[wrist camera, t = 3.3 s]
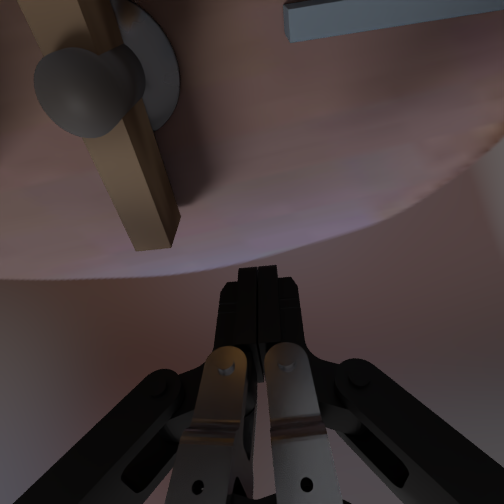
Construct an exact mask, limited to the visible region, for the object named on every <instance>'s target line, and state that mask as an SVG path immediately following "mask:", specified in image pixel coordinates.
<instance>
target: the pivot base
mask: <svg viewBox="0 0 504 504" xmlns="http://www.w3.org/2000/svg"><path fill="white" fill-rule="evenodd" d="M110 3H111V6H112V9H113V12H114V15H115V18H116V21H117V24H118V27H119V30H120V33H121V36H122V39H123V42H124V44H125V45H127V46H128V47H129V48H130V49H131V50H132V51H133V52H134V53H135V55H136V56H137V57H138V59H139V61H140V62H141V65H142V67H143V70H144V73H145V79H146V86H145V91H144V94H143V97H142V100H143V103H144V106H145V109H146V112H147V115H148V118H149V121H150V124H151V127H152V130H153V132H154V131H156V130H158V129H159V128H160V127H161V126H163V125H164V124H165V123H166V122H167V120H168V119H169V118H170V116H171V115H172V113H173V111H174V109H175V107H176V105H177V102H178V99H179V93H180V70H179V65H178V61H177V58H176V54H175V52H174V49H173V47H172V45H171V43H170V41H169V39H168V37H167V35H166V34H165V32H164V31H163V29H162V28H161V27H160V25H159V24H158V23H157V22H156V21H155V20H154V18H153V17H152V16H151V15H150V14H148V13H147V12H146V11H145V10H144V9H143V8H141V7H140V6H139V5H137V4H136V3H134V2H132V1H130V0H110Z"/></svg>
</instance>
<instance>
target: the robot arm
mask: <svg viewBox="0 0 504 504" xmlns="http://www.w3.org/2000/svg"><path fill="white" fill-rule="evenodd" d="M264 375H265V380H266V385H267V395H268V404H269V415H270V426H271V428H270V434H271V445H272V457H273V467H274V477H275V487H276V493H275V494H273V495H270V496H267V497H264V498H261V499H258V500H254V499H253V488H254V486H253V485H254V481H253V480H254V477H253V454H254V453H253V452H254V441H255V427H256V414H257V383H260V382H264ZM326 427H327V428H330V429H333V430H335V431H336V432H337V434H338V435H339V436H340V437H341V438H342V439H343V440H344V441H345V442H346V443H347V445H349V447H350V448H351V449H352V450H353V451H354V452H355V453H356V454H357V455H358V456H359V457H360V458H361V459H362V460H363V461H364V462H365V463H366V464H367V466H368V467H369V468H370V469H371V470H372V471H373V472H374V473H375V474H376V475H377V476H378V477H379V478H380V479H381V480H382V481H383V482H384V483H385V484H386V486H388V488H389V489H390V490H391V491H392V492H393V493H394V494H395V495H396V496H397V497H398V498H399V499H400V500H401V501H402V502H403V503H404V504H504V468H503V467H502V466H501V465H500V464H498V463H497V462H496V461H494V460H493V459H492V458H490V457H489V456H488V455H487V454H486V453H484V452H483V451H482V450H480V449H479V448H478V447H477V446H475V445H474V444H473V443H472V442H470V441H469V440H468V439H466V438H465V437H464V436H463V435H462V434H460V433H459V432H458V431H457V430H455V429H454V428H453V427H451V426H450V425H449V424H448V423H446V422H445V421H444V420H443V419H441V418H440V417H439V416H438V415H436V414H435V413H434V412H432V411H431V410H430V409H429V408H427V407H426V406H425V405H423V404H422V403H421V402H420V401H418V400H417V399H416V398H415V397H414V396H412V395H411V394H410V393H408V392H407V391H406V390H404V389H403V388H402V387H401V386H399V385H398V384H397V383H396V382H395V381H393V380H392V379H391V378H390V377H388V376H387V375H386V374H384V373H383V372H382V371H381V370H379V369H378V368H377V367H375V366H374V365H373V364H371V363H370V362H368V361H366V360H363V359H356V358H355V359H354V358H353V359H348V360H345V361H343V362H342V363H340V364H336V363H332V362H328V361H324V360H321V359H319V358H317V357H316V356H314V355H313V354H312V353H311V352H310V351H309V349H308V348H307V346H306V344H305V339H304V332H303V323H302V316H301V308H300V301H299V293H298V286H297V285H296V284H295V282H294V280H293V279H292V278H291V277H284V278H278V274H277V265H270V266H259V267H258V268H257V267H248V268H239V271H238V281H237V282H227V283H226V285H225V286H224V288H223V289H222V291H221V293H220V301H219V309H218V317H217V326H216V333H215V341H214V348H213V351H212V353H211V354H210V355H209V356H208V358H207V359H206V362H205V363H203V364H202V365H201V366H199V367H197V368H195V369H193V370H190V371H187V372H185V373H182V374H179V375H178V374H177V373H176V372H174V371H172V370H170V369H160V370H157V371H154V372H152V373H151V374H149V375H148V376H147V377H145V378H144V379H143V380H142V381H141V382H140V383H139V384H138V385H137V386H136V387H135V388H134V389H133V390H132V391H131V392H130V393H129V394H128V395H127V396H125V397H124V398H123V399H122V400H121V401H120V402H119V403H118V404H117V405H116V406H115V407H114V408H113V409H112V410H111V411H110V412H109V413H108V414H107V415H106V416H104V418H102V419H101V420H100V421H99V422H98V423H97V424H96V425H95V426H94V427H93V428H92V429H91V430H90V431H89V432H88V433H87V434H86V435H85V436H83V437H82V439H80V440H79V441H78V442H77V443H76V444H75V445H74V446H73V447H72V448H71V449H70V450H69V451H68V452H67V453H66V454H65V455H64V456H63V457H61V458H60V459H59V460H58V461H57V462H56V463H55V464H54V465H53V466H52V467H51V468H50V469H49V470H48V471H47V472H46V473H45V474H44V475H43V476H42V477H40V478H39V479H38V480H37V481H36V482H35V483H34V484H33V485H32V486H31V487H30V488H29V489H28V490H27V491H26V492H25V493H24V494H23V495H22V496H21V497H20V498H18V499H17V500H16V501H15V502H14V503H13V504H143V503H144V502H145V500H146V499H147V498H148V497H149V496H150V494H151V493H152V492H153V491H154V490H155V488H156V487H157V486H158V485H159V483H160V482H161V481H162V480H163V479H164V477H165V476H166V475H167V474H168V473H169V471H170V470H171V469H172V468H173V471H172V475H171V479H170V483H169V488H168V492H167V496H166V500H165V504H351V503H349V502H347V501H345V500H343V499H342V496H341V492H340V487H339V483H338V479H337V474H336V470H335V466H334V461H333V457H332V452H331V448H330V444H329V439H328V435H327V431H326Z"/></svg>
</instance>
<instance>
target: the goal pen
mask: <svg viewBox="0 0 504 504" xmlns="http://www.w3.org/2000/svg"><path fill="white" fill-rule="evenodd" d="M498 10H504V0H308V1H302V2H296V3H290V4H284V5H283V13H284V30H285V34H286V36H287V38H288V40H289V42H290V43H293V42H299V41H306V40H312V39H319V38H325V37H331V36H338V35H344V34H351V33H357V32H363V31H370V30H376V29H383V28H389V27H395V26H402V25H408V24H415V23H421V22H427V21H434V20H440V19H447V18H453V17H459V16H466V15H472V14H479V13H485V12H491V11H498Z"/></svg>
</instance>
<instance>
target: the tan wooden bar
mask: <svg viewBox="0 0 504 504" xmlns="http://www.w3.org/2000/svg"><path fill="white" fill-rule="evenodd" d="M17 1H18V4H19V6H20V8H21V10H22V12H23V14H24V16H25V18H26V20H27V23H28V25H29V27H30V29H31V31H32V33H33V35H34V37H35V39H36V42H37V44H38V46H39V48H40V50H41V52H42V54H43V56H44V57H43V58H42V59H41V60H40V61H39V63H38V65H37V67H36V69H35V73H34V88H35V92H36V95H37V98H38V100H39V103H40V105H41V106H42V108H43V110H44V111H45V112H46V114H47V115H48V116H49V117H50V118H51V119H52V120H53V121H54V122H55V123H56V124H57V125H58V126H59V127H61V128H62V129H64V130H65V131H67V132H69V133H71V134H73V135H76V136H79V137H82V139H83V141H84V143H85V145H86V147H87V149H88V151H89V153H90V156H91V158H92V160H93V162H94V164H95V166H96V168H97V170H98V172H99V175H100V177H101V179H102V181H103V183H104V185H105V187H106V189H107V191H108V193H109V196H110V198H111V200H112V202H113V204H114V206H115V208H116V210H117V212H118V215H119V217H120V219H121V221H122V223H123V225H124V227H125V229H126V231H127V234H128V236H129V238H130V240H131V242H132V244H133V246H134V248H135V250H136V251H144V250H154V249H164V248H171V247H172V244H173V240H174V237H175V234H176V231H177V228H178V225H179V222H180V218H181V216H180V212H179V209H178V206H177V203H176V200H175V197H174V194H173V191H172V188H171V185H170V182H169V179H168V176H167V173H166V170H165V167H164V164H163V161H162V158H161V155H160V152H159V149H158V146H157V143H156V140H155V136H154V133H153V130H152V127H151V124H150V121H149V118H148V115H147V112H146V109H145V106H144V103H143V100H142V97H143V94H144V91H145V86H146V79H145V73H144V70H143V67H142V65H141V62H140V61H139V59H138V57H137V56H136V55H135V53H134V52H133V51H132V50H131V49H130V48H129V47H128V46H127V45H125V44H124V42H123V39H122V36H121V33H120V30H119V27H118V24H117V21H116V18H115V15H114V12H113V9H112V6H111V3H110V0H17Z"/></svg>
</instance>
